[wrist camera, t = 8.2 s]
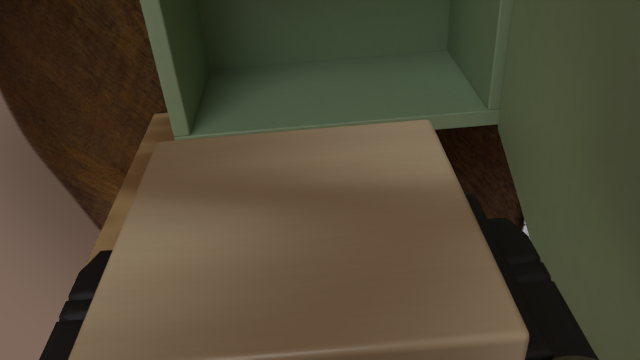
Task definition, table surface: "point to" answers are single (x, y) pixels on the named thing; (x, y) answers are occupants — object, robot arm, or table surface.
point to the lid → (580, 156)
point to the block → (302, 255)
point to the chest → (327, 63)
